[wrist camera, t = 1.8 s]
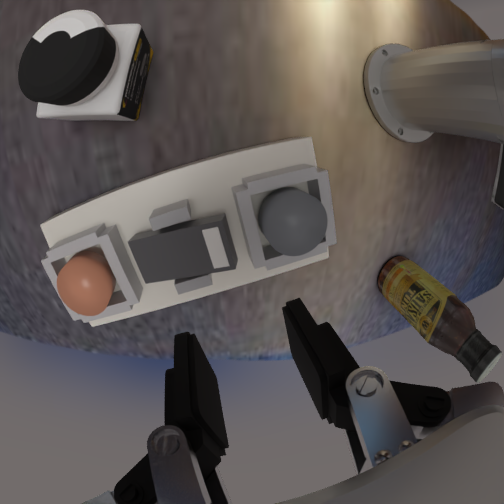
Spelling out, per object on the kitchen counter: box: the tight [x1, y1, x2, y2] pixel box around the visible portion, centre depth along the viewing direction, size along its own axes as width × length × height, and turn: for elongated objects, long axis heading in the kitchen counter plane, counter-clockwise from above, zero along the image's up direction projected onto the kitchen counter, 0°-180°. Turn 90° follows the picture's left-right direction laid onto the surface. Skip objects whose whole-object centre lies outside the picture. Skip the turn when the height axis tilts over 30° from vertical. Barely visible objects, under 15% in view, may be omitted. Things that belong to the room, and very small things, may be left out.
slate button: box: [258, 187, 328, 256], centre depth 21 cm, size 5×5×2 cm
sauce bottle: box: [378, 256, 502, 382], centre depth 25 cm, size 7×6×20 cm
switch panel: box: [40, 137, 337, 327], centre depth 23 cm, size 26×12×6 cm, turn 103°
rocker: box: [128, 213, 238, 284], centre depth 21 cm, size 8×4×2 cm, turn 103°
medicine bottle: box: [18, 10, 153, 121], centre depth 13 cm, size 7×7×12 cm
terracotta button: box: [57, 251, 116, 316], centre depth 20 cm, size 5×5×2 cm
